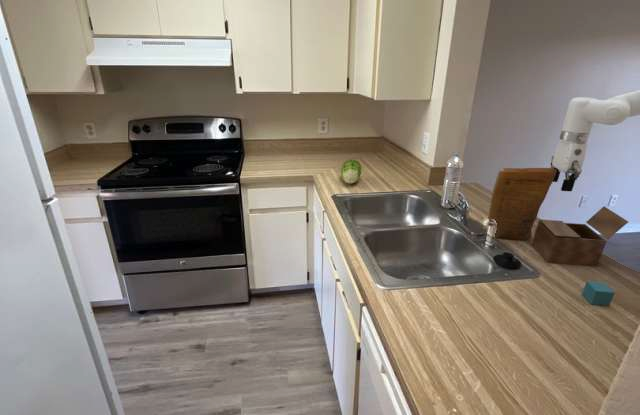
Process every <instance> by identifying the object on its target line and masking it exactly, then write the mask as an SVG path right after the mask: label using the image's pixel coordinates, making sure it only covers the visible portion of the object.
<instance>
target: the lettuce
mask: <svg viewBox="0 0 640 415" xmlns="http://www.w3.org/2000/svg"><path fill="white" fill-rule="evenodd" d="M362 169H363V168H362V165H361V163H360V162H359V161H358V160H356V159H354V158H353V159H352V158H351V159H347V160H345V161H344V162H343V163H342V165H341V168H340V175H341V178H342V180H343V181H344V182H345V183H346V184H350V185H351V184H355V183H356V182H358V180H359V179H360V177H361V176H362Z"/></svg>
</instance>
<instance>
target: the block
mask: <svg viewBox="0 0 640 415" xmlns="http://www.w3.org/2000/svg"><path fill="white" fill-rule="evenodd" d="M615 293H616V292H615V291H614V290H613V289H612V288H611V287H610V286H609V285H608V284H607V283H605V282H602V281H591V280H590V281H588V280H587V281H586V282H585V284H584V288H583V290H582V293H581V295H582V296H583V297H584V298H585V300H586V301H587V302H588V303H589V305H593V306H594V305H595V306H603V307H604V306H605V307H610V305H611V303H612V301H613V298H614V296H615Z"/></svg>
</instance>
